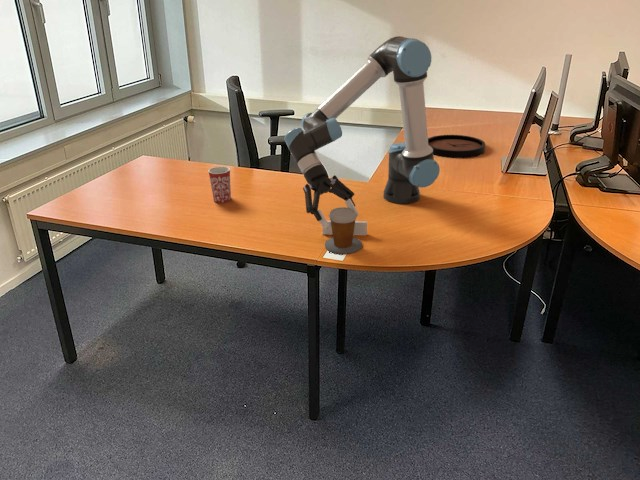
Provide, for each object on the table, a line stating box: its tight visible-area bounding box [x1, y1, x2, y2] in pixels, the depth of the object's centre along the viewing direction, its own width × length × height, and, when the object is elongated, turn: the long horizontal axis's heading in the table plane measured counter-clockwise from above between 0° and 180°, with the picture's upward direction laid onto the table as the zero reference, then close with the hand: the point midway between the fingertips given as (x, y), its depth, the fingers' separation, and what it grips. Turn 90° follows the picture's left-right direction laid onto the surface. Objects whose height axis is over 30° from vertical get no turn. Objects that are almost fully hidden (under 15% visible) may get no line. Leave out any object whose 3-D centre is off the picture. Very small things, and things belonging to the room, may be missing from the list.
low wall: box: [322, 220, 368, 236], centre depth 191 cm, size 16×1×5 cm, turn 85°
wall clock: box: [428, 134, 486, 159], centre depth 282 cm, size 31×4×31 cm
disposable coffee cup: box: [328, 206, 358, 248], centre depth 181 cm, size 10×10×12 cm
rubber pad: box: [324, 236, 363, 255], centre depth 184 cm, size 13×13×1 cm
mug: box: [207, 165, 232, 204], centre depth 223 cm, size 13×9×14 cm
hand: (342, 222), depth 180 cm, fingers open, 13 cm apart
